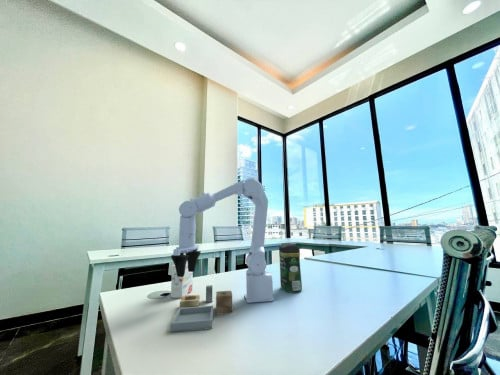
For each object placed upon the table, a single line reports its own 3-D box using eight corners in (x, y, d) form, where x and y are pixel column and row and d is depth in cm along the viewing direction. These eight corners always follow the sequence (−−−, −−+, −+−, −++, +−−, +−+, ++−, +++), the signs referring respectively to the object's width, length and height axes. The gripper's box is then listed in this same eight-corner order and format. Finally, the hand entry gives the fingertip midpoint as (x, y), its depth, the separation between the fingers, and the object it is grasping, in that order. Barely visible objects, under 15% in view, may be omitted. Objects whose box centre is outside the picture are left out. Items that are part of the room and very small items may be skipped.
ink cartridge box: (181, 290, 86) (183, 254, 89) (192, 291, 85) (193, 254, 88) (169, 297, 78) (171, 257, 81) (181, 298, 77) (183, 257, 80)
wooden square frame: (199, 304, 71) (199, 294, 72) (197, 310, 66) (198, 300, 66) (182, 305, 70) (182, 295, 71) (179, 312, 65) (179, 301, 65)
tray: (213, 312, 64) (213, 305, 64) (212, 328, 54) (212, 320, 54) (178, 315, 62) (178, 308, 63) (171, 332, 52) (171, 323, 53)
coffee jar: (278, 286, 90) (276, 242, 93) (295, 285, 91) (293, 241, 94) (285, 293, 80) (283, 244, 84) (304, 292, 82) (302, 243, 85)
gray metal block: (212, 299, 75) (212, 285, 76) (212, 302, 73) (212, 286, 74) (206, 300, 75) (206, 285, 76) (205, 302, 73) (206, 287, 73)
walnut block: (231, 306, 69) (231, 290, 70) (232, 313, 64) (232, 295, 65) (216, 308, 68) (216, 291, 69) (215, 314, 63) (216, 296, 64)
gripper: (187, 234, 84) (186, 269, 81) (165, 235, 70) (163, 278, 67) (203, 233, 82) (203, 269, 80) (185, 235, 68) (183, 279, 66)
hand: (186, 273), depth 74 cm, fingers open, 7 cm apart
